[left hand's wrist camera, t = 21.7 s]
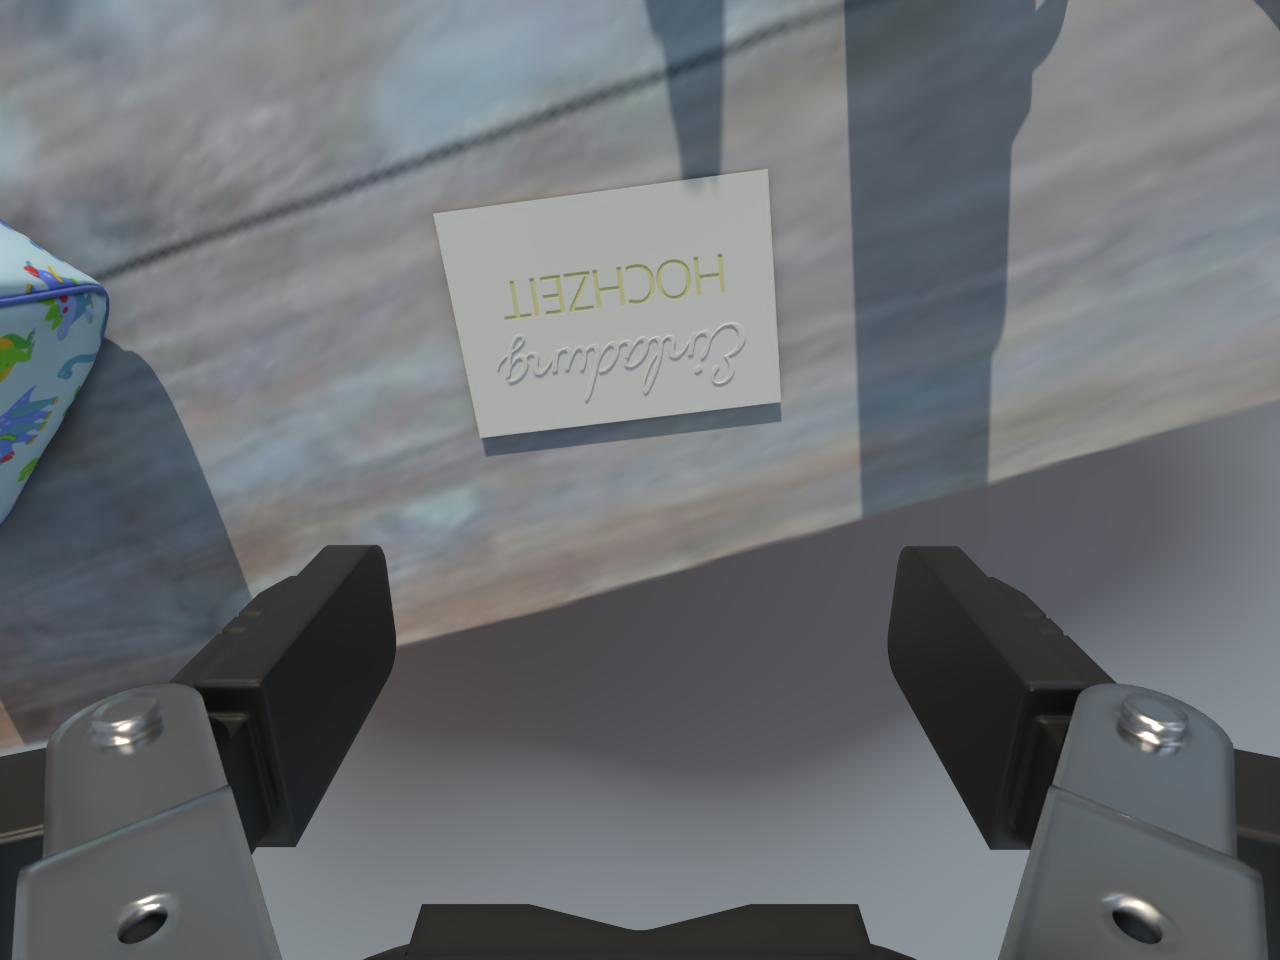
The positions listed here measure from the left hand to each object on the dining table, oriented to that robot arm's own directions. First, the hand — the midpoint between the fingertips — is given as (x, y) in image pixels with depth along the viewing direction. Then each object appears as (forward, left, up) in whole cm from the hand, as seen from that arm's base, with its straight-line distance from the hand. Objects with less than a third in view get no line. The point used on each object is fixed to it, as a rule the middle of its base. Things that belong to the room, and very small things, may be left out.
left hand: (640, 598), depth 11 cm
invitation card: (+1, +1, -39) cm, 39 cm away
